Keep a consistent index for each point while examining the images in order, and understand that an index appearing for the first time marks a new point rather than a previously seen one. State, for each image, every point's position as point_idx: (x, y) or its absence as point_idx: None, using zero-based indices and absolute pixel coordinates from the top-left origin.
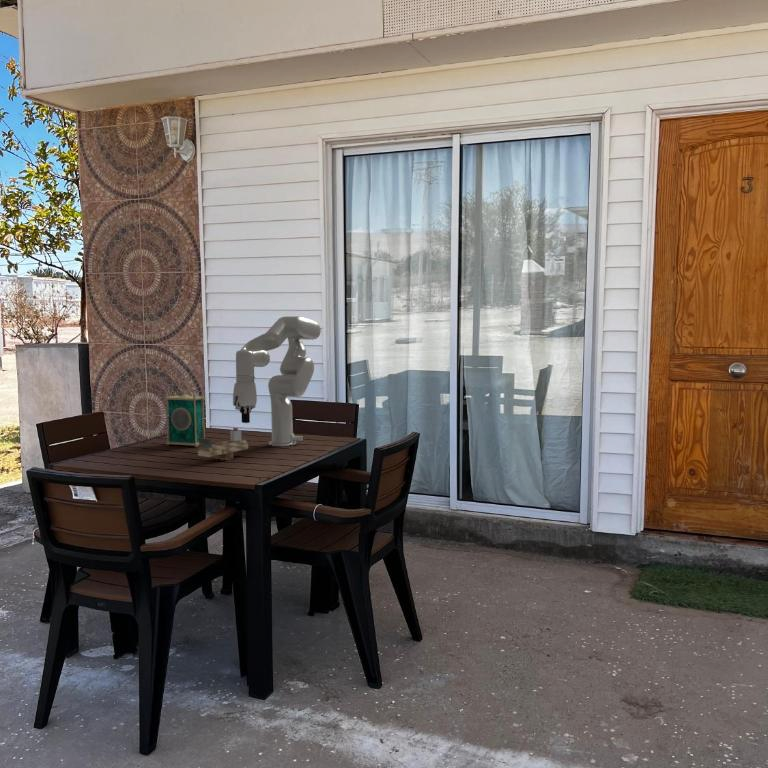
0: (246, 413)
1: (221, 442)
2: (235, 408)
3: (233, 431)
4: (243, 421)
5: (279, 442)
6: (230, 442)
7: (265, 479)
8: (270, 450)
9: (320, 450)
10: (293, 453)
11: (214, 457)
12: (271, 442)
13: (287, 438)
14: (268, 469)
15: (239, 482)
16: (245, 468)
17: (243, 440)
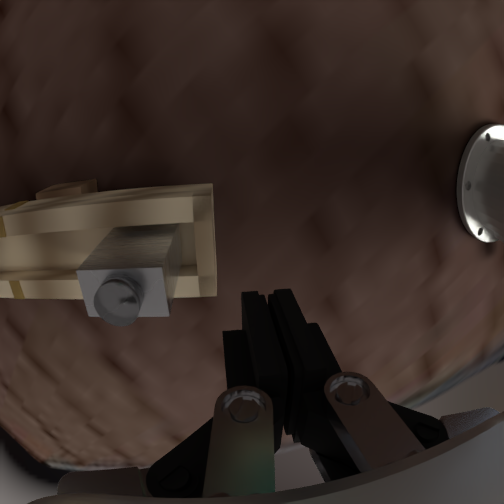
0: (297, 416)
1: (52, 212)
2: (60, 487)
3: (87, 307)
4: (243, 325)
5: (477, 204)
6: (110, 231)
7: (70, 461)
8: (381, 238)
9: (426, 369)
10: (358, 355)
11: (50, 187)
12: (480, 152)
13: (499, 234)
14: (117, 438)
15: (22, 439)
16: (71, 395)
17: (197, 272)
